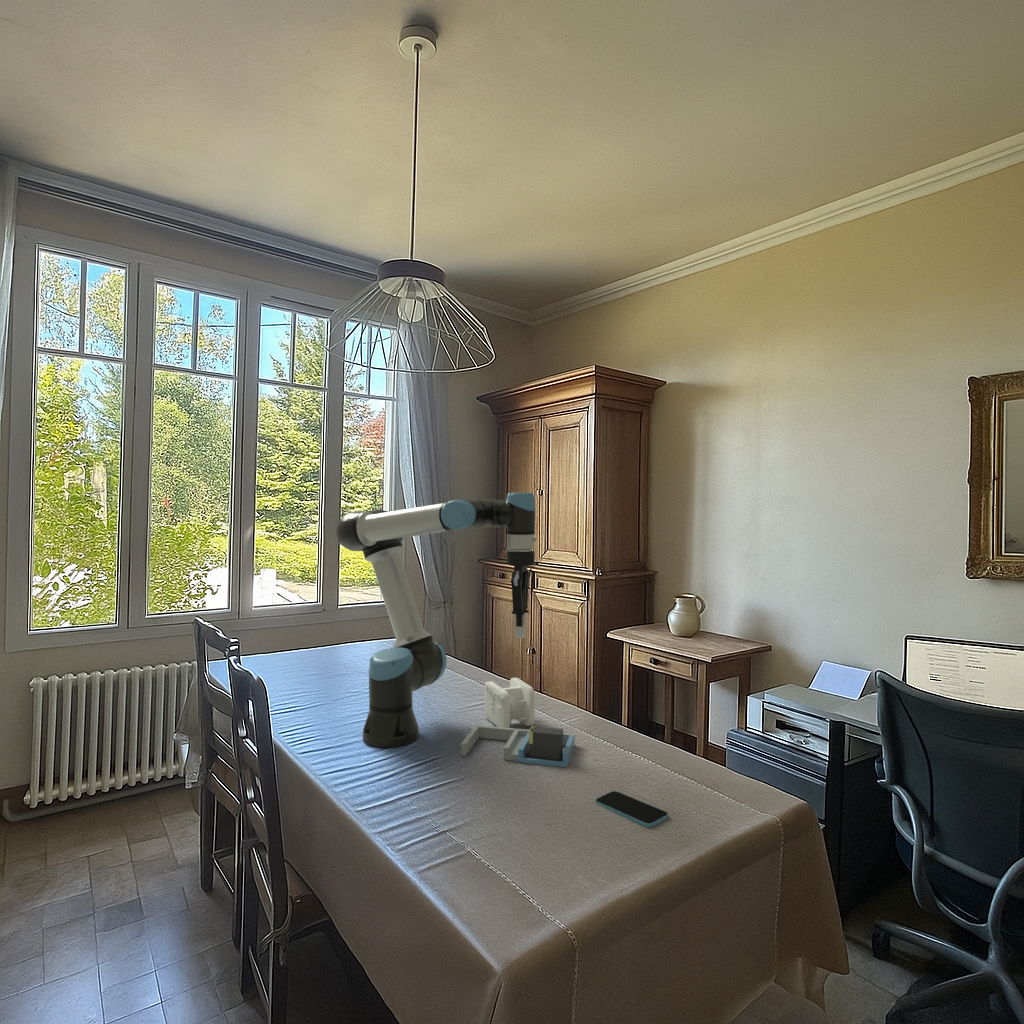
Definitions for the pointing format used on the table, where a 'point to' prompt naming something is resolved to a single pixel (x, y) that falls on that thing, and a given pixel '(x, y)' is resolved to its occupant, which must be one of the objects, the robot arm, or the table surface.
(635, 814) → the smartphone
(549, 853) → the table surface
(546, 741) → the yellow-capped grey block
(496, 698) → the cable organizer
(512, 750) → the grey frame
